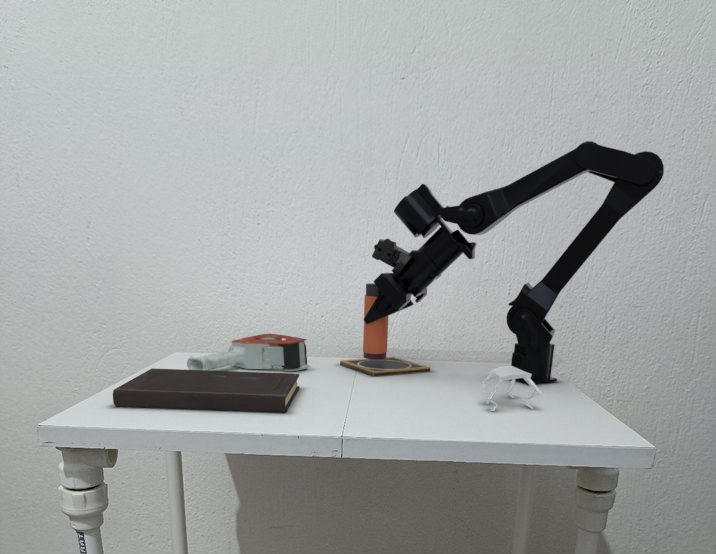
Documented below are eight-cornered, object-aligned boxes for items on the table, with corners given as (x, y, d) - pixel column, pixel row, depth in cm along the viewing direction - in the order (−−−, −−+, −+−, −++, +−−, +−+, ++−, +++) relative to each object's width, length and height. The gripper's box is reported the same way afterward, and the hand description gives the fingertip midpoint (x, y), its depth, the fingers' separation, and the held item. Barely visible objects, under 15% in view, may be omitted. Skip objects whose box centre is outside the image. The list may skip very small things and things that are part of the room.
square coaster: (394, 360, 129) (394, 356, 129) (430, 371, 119) (430, 367, 119) (340, 364, 123) (340, 360, 123) (373, 376, 114) (373, 371, 113)
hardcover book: (152, 383, 103) (151, 368, 103) (299, 388, 103) (299, 373, 102) (113, 407, 88) (111, 390, 87) (285, 413, 88) (285, 396, 87)
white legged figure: (543, 414, 91) (548, 379, 90) (482, 411, 92) (486, 376, 90) (530, 395, 103) (534, 364, 101) (475, 393, 103) (478, 361, 102)
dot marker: (388, 356, 124) (391, 283, 119) (384, 360, 119) (387, 285, 115) (365, 355, 124) (367, 283, 120) (360, 358, 120) (362, 284, 116)
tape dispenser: (186, 383, 111) (305, 379, 110) (181, 352, 109) (303, 348, 108) (209, 360, 127) (313, 357, 126) (205, 332, 125) (311, 328, 124)
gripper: (413, 224, 121) (354, 284, 128) (388, 220, 105) (322, 289, 111) (453, 270, 122) (392, 327, 129) (434, 274, 105) (365, 340, 112)
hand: (368, 320), depth 120 cm, fingers closed on dot marker, 4 cm apart
